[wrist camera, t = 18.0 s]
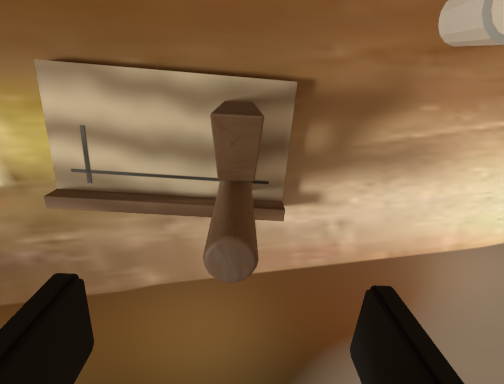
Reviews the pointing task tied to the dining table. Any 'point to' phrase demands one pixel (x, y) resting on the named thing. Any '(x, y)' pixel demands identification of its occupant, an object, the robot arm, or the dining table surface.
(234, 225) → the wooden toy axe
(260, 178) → the marking board
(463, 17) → the shot glass
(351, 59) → the dining table surface
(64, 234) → the dining table surface
